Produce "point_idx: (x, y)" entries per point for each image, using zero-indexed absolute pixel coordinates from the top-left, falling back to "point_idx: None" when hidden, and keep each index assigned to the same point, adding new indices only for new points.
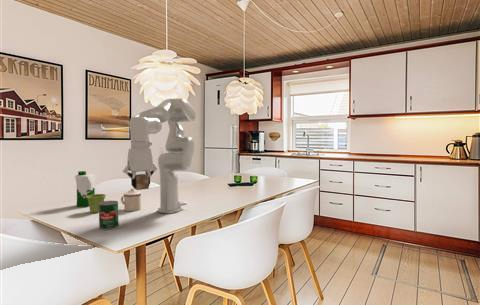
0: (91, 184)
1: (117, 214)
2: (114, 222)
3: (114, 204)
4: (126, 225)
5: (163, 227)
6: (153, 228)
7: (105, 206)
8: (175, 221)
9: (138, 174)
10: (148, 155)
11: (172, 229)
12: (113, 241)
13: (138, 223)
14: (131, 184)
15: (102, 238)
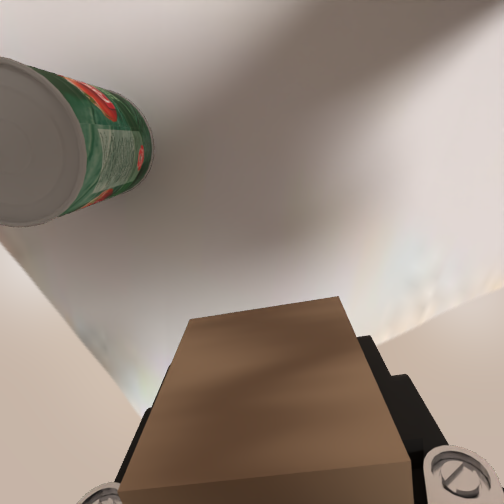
0: None
1: (122, 173)
2: (122, 190)
3: (65, 209)
4: (196, 162)
5: (369, 286)
6: (320, 279)
7: (5, 218)
8: (466, 210)
9: (245, 482)
10: None
11: (397, 332)
12: (142, 366)
13: (263, 152)
14: (146, 411)
15: (95, 315)
